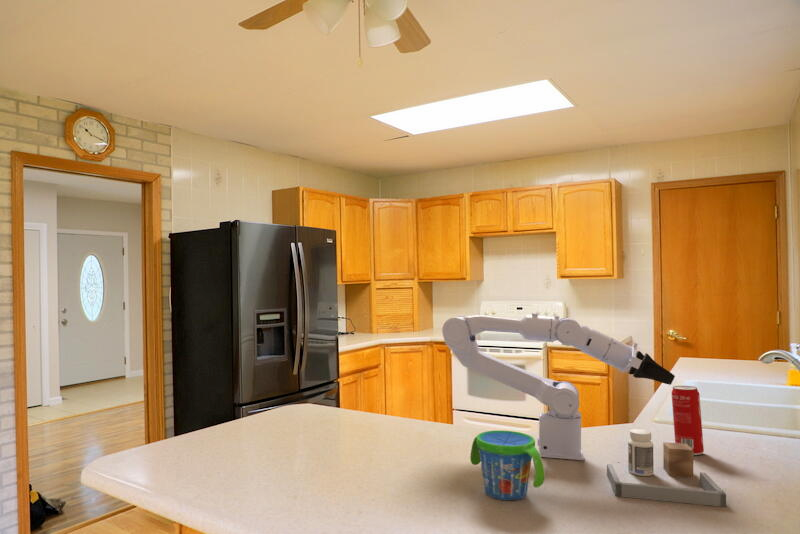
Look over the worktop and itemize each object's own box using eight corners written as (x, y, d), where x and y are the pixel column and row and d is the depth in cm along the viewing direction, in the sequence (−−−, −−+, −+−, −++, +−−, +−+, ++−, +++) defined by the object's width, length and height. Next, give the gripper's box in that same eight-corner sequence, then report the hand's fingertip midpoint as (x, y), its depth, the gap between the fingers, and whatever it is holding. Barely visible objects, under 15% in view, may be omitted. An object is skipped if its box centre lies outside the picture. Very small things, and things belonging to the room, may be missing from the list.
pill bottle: (658, 474, 108) (658, 432, 109) (645, 478, 106) (645, 435, 106) (636, 467, 112) (636, 427, 113) (623, 471, 110) (623, 430, 110)
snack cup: (455, 485, 101) (456, 430, 101) (497, 475, 106) (497, 424, 106) (514, 516, 87) (514, 453, 88) (558, 503, 93) (558, 444, 93)
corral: (615, 495, 97) (615, 483, 97) (606, 475, 107) (606, 464, 107) (726, 507, 92) (726, 494, 92) (705, 484, 103) (705, 472, 103)
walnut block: (668, 475, 107) (668, 448, 108) (663, 468, 112) (663, 442, 112) (693, 478, 106) (693, 450, 107) (686, 470, 111) (686, 444, 111)
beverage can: (707, 457, 120) (707, 390, 120) (676, 454, 121) (676, 388, 122) (698, 449, 126) (698, 385, 126) (668, 447, 127) (668, 383, 127)
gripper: (618, 333, 111) (684, 364, 107) (611, 333, 125) (669, 360, 121) (603, 364, 111) (669, 395, 107) (598, 360, 125) (656, 388, 121)
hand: (668, 378), depth 114 cm, fingers open, 7 cm apart
